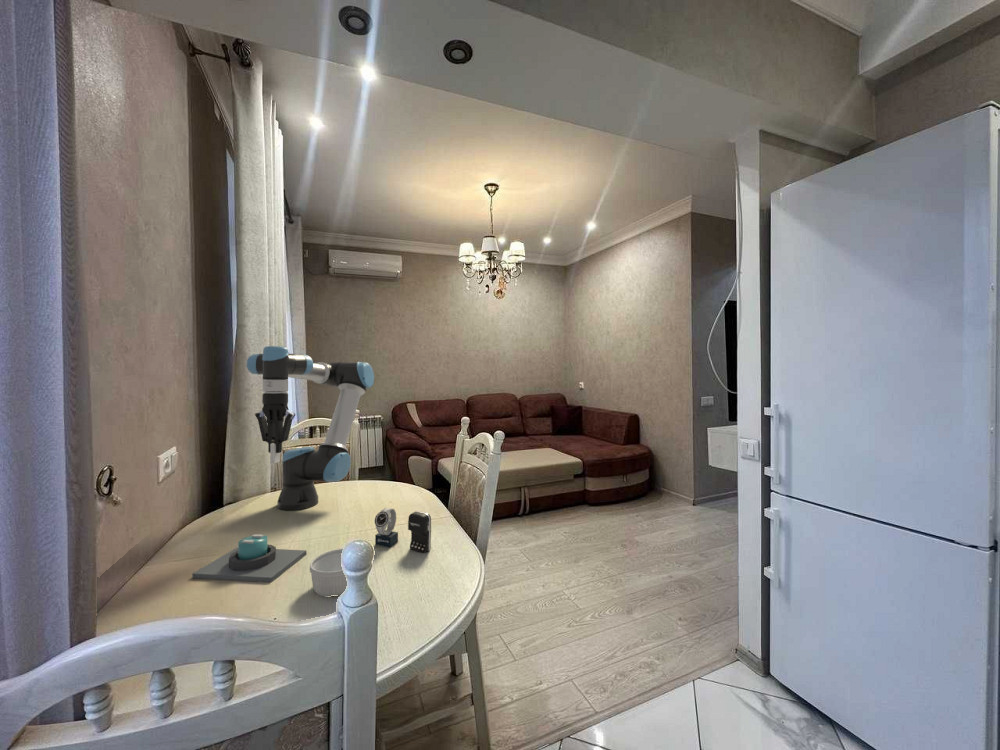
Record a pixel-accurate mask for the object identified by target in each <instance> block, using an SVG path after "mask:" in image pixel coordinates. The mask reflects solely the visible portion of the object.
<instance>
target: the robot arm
mask: <svg viewBox="0 0 1000 750" xmlns="http://www.w3.org/2000/svg"><path fill="white" fill-rule="evenodd" d="M246 368H247V370H248V372H249V373H251V374H252V375H253V374H254V375H262V392H264V393H263V394H262V395H261V396H262V399H261V401H262V404H263V405H262V408H261V411H259V412H256V413H255V414H254V416H255V418H256V419H257V423H258V427H259V431H260V435H261V440H262V441H263V442H266V443H267V444H268V447H267V448H268V453H269V454H270V461H269V462H270V464H276V463H280V461H281V460H280V459H281V456H280V455H281V453H282V451H283V449H282V448H283V442H286V441H288V440H289V436H290V431H291V427H292V423H293V420H294V418H295V416H296V413H295V412H291V411H290V410H289V407H288V404H289V393H288V391H289V378H293V379H298V380H299V379H300V380H307V381H312V382H314V384H315V383H316V384H320V385H325V386H330V387H335V388H338V390H339V391H340V392H339V395H338V397H337V398H338V399H337V401H336V406H335V407H334V408H335V409H334V411H333V414H332V417H331V421H330V423H329V427H328V429H327V433H326V436H325V439H324V442H323V443H320V444H319V446H318V449H317V451H315V450H316V449H315V447H313V446H304V447H298V448H293V449H289V450H286V451H284V453H283V455H282V461H281V465H282V467H281V468H282V470H281V472H282V487H281V490H280V493H279V496H278V499H277V504H276V505H277V509H279V510H281V511H298V510H304V509H308V508H311V507H312V508H313V507H314V506H316V505H318V504H319V494H318V492H317V489H316V485H315V481H316V482H318V481H319V482H327V483H332V482H336V483H337V482H341V480H343V479H344V478H346V476H347V475H348V474H349V471H350V468H351V466H352V465H351V464H352V461H351V460H352V459H351V455H350V454H349V450H348V448H347V444H348V440H349V437H350V434H351V429H352V426H353V422H354V419H355V417H356V413H357V408H358V405H359V402H360V399H361V396H363V395H365V393H366V391H367V389H370V388H371V387H372V386H373V385H374V382H375V381H374V380H375V374H374V369H373V367H372V365H370V363H368V362H363V361H356V362H355V361H353V362H351V361H336V362H334V361H333V362H322V361H320V362H319V361H318V362H314V361H313V358H312V357H311V356H309V355H308V354H304V353H290V352H289V348H288V347H286V346H274V345H273V346H271V345H270V346H269V345H268V346H265V347H263V350H262V353H255V354H251V355H250V356H249V357H248V358H247V359H246ZM284 418H285V419H284Z"/></svg>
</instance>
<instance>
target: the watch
mask: <svg viewBox="0 0 1000 750" xmlns="http://www.w3.org/2000/svg"><path fill="white" fill-rule="evenodd" d="M396 522H397V512H396V510H395V509H394V508H391V507H390V508H389V507H385V508H383V509H381V510H380V511H379V512H378V513H377V514H376V515H375V517H374V525H375V529H376V531H377V533H376V534H374V535H375V537H374V538H375V539H374V543H375V544H374V545H375V546H380V547H385V548H386V547H387V548H391V547H393V546H394V545H396V544H397V543H399V532H398V531H394V529H395V528H396V527H395V526H396Z"/></svg>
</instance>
